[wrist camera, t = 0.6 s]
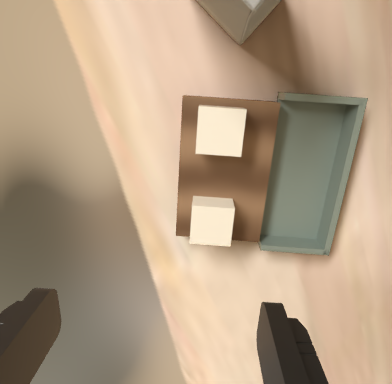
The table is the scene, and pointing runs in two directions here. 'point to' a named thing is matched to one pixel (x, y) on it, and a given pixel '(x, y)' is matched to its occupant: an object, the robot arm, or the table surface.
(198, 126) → the tile
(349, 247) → the table surface
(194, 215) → the cream square block
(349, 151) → the tray
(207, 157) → the walnut board
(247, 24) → the skincare box
